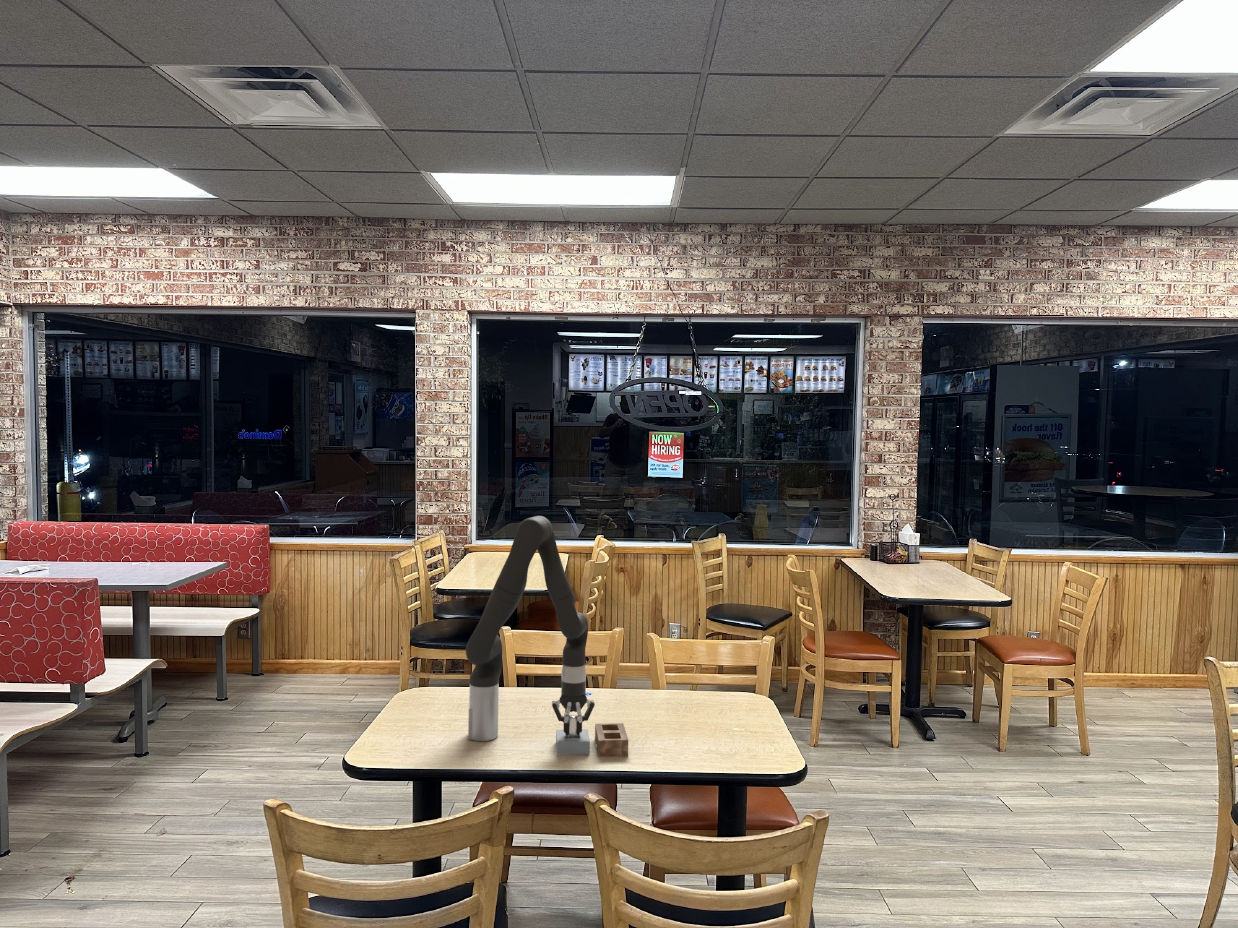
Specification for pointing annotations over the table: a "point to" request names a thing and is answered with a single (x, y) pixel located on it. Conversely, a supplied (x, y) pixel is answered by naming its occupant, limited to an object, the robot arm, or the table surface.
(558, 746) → the socket block
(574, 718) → the steel rod
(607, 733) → the walnut rack
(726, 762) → the table surface
